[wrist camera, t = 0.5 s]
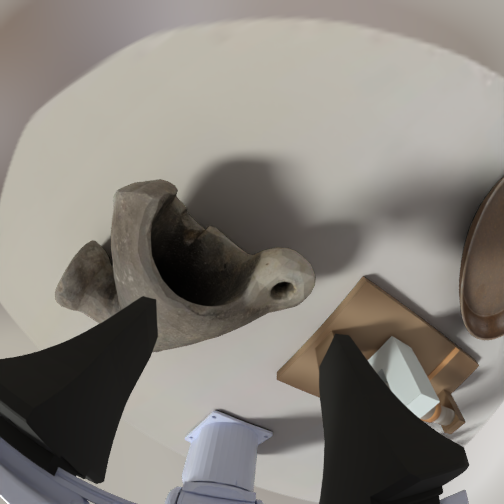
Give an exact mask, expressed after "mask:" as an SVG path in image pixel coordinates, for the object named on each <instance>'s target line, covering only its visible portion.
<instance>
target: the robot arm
mask: <svg viewBox="0 0 504 504" xmlns="http://www.w3.org/2000/svg"><path fill="white" fill-rule="evenodd" d="M157 338H158V327H157V305H156V299H152V298H148V297H145V296H142V297H140V298H139V299H137V300H136V301H134V302H133V303H131V304H130V305H128V306H127V307H125V308H124V309H122V310H121V311H119V312H118V313H116V314H114V315H113V316H111V317H110V318H108V319H107V320H105V321H103V322H102V323H100V324H98V325H96V326H95V327H93V328H91V329H90V330H88V331H86V332H84V333H82V334H80V335H78V336H76V337H74V338H72V339H70V340H68V341H65V342H63V343H61V344H58V345H55V346H53V347H50V348H47V349H44V350H41V351H38V352H34V353H31V354H27V355H23V356H18V357H13V358H6V359H0V497H2V498H3V499H4V500H5V501H6V502H7V503H8V504H89V502H88V501H90V502H92V503H95V504H136V503H133V502H131V501H128V500H125V499H123V498H120V497H118V496H115V495H113V494H111V493H108V492H106V491H104V490H102V489H99V488H97V487H95V486H93V485H91V484H89V483H87V482H85V481H83V480H81V479H79V478H77V477H76V475H77V476H79V477H81V478H83V479H88V480H89V481H92V482H94V483H96V484H98V483H102V482H103V481H104V479H105V473H106V469H107V464H108V458H109V455H110V451H111V448H112V444H113V440H114V437H115V433H116V431H117V427H118V424H119V421H120V419H121V416H122V413H123V410H124V407H125V405H126V403H127V400H128V398H129V396H130V394H131V392H132V390H133V388H134V387H135V385H136V383H137V381H138V379H139V377H140V375H141V373H142V372H143V370H144V368H145V366H146V364H147V362H148V360H149V358H150V356H151V354H152V351H153V349H154V346H155V343H156V341H157ZM319 393H320V401H321V410H322V418H323V427H324V440H325V447H324V469H323V480H322V488H321V496H320V502H319V504H469V503H468V498H467V494H466V490H463V491H460V492H458V493H456V494H453V495H451V496H448V497H446V498H444V499H442V500H439V495H440V494H442V493H443V489H442V486H443V485H444V484H446V483H448V482H449V481H451V480H453V479H454V478H456V477H457V476H459V475H460V474H461V473H463V472H464V471H465V470H466V469H467V468H468V466H469V463H468V459H467V456H466V453H465V450H464V447H462V446H460V445H458V444H457V443H455V442H453V441H451V440H449V439H448V438H446V437H444V436H443V435H441V434H440V433H438V432H437V431H435V430H434V429H432V428H431V427H430V426H428V425H427V424H426V423H424V422H423V421H422V420H421V419H420V418H418V417H417V416H416V415H415V414H414V413H413V412H412V411H410V410H409V409H408V408H407V407H406V406H405V405H404V404H403V403H402V402H401V401H400V400H399V399H398V398H397V397H396V395H395V394H394V393H393V392H392V391H391V390H390V389H389V387H388V386H387V385H386V384H385V383H384V381H383V380H382V379H381V378H380V376H379V375H378V374H377V373H376V371H375V370H374V369H373V367H372V366H371V365H370V363H369V362H368V360H367V359H366V358H365V356H364V355H363V354H362V352H361V351H360V349H359V348H358V347H357V345H356V344H355V342H354V341H353V340H352V338H351V337H350V336H349V335H343V334H335V335H334V337H333V339H332V342H331V344H330V346H329V348H328V350H327V352H326V354H325V356H324V358H323V360H322V362H321V364H320V366H319ZM272 436H273V432H271V431H268V430H265V429H263V428H260V427H257V426H254V425H252V424H249V423H246V422H244V421H241V420H239V419H236V418H234V417H231V416H229V415H226V414H224V413H222V412H219V411H213V412H212V413H211V414H210V415H209V416H208V417H207V418H205V419H204V420H203V421H202V422H201V423H200V424H199V425H198V426H197V427H196V428H195V429H193V430H192V431H191V432H190V433H189V434H188V435H187V436H186V437H185V440H186V441H188V442H190V443H191V444H190V448H189V451H188V455H187V459H186V462H185V466H184V469H183V473H182V481H183V487H178V486H177V487H175V488H174V489H172V490H170V492H169V494H168V496H167V498H166V501H165V504H264V503H263V502H262V500H257V499H256V493H255V492H253V490H254V480H255V469H256V458H257V447H258V445H259V444H261V443H262V442H264V441H265V440H267V439H269V438H270V437H272ZM87 500H88V501H87Z"/></svg>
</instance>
